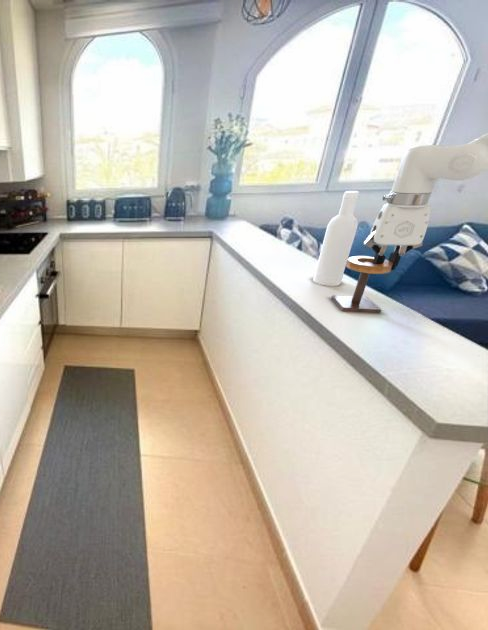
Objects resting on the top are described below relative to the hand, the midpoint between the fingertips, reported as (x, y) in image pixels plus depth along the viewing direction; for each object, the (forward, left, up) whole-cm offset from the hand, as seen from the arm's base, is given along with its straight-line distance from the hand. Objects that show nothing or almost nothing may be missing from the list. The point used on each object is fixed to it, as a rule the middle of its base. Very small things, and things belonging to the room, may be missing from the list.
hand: (383, 267), depth 95 cm
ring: (+4, 0, 0) cm, 4 cm away
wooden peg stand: (+4, 0, -12) cm, 13 cm away
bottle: (+5, -20, -12) cm, 24 cm away
